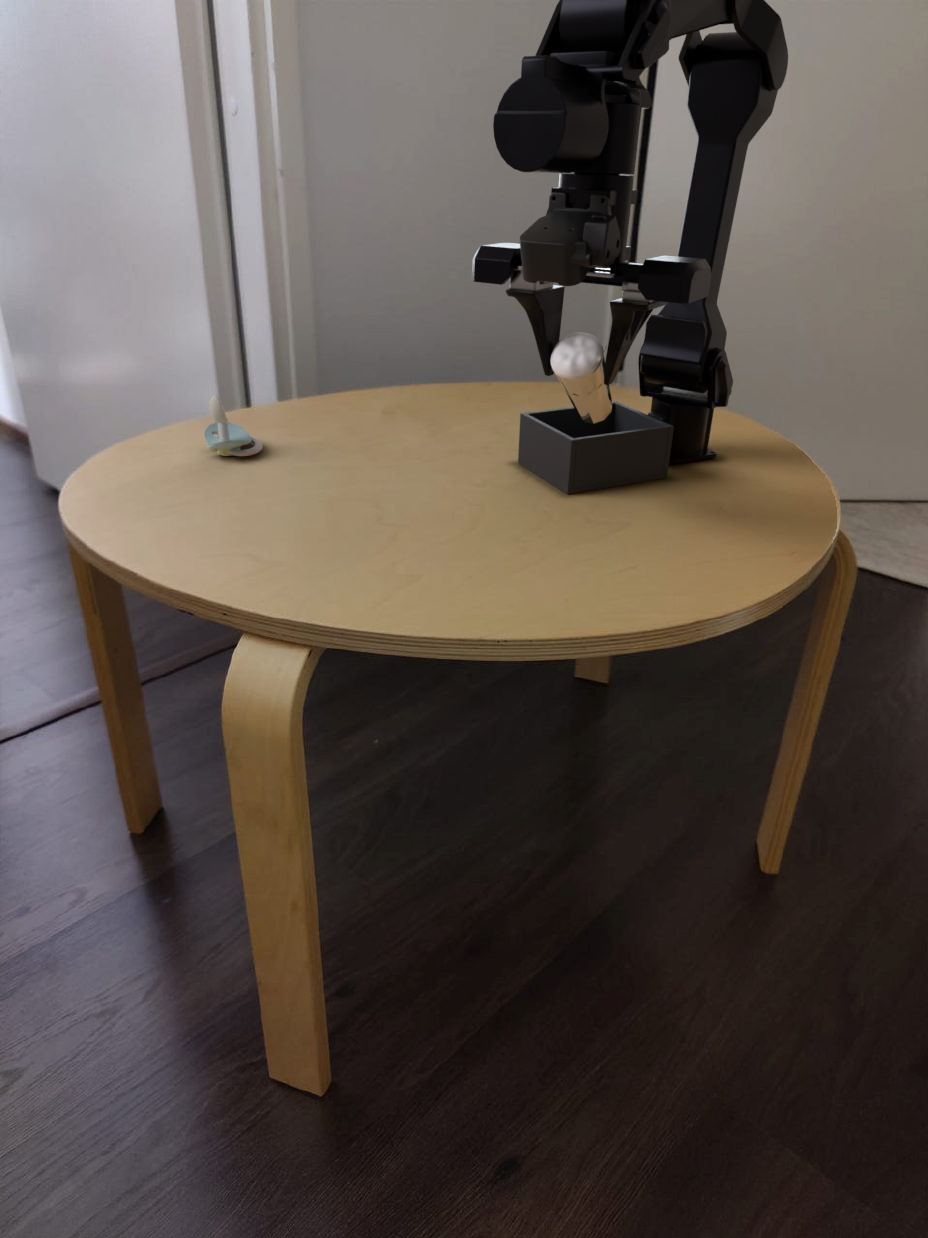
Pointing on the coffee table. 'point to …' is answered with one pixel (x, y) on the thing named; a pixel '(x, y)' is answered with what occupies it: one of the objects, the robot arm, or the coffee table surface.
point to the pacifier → (228, 434)
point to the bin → (594, 448)
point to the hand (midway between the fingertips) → (577, 379)
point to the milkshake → (583, 375)
